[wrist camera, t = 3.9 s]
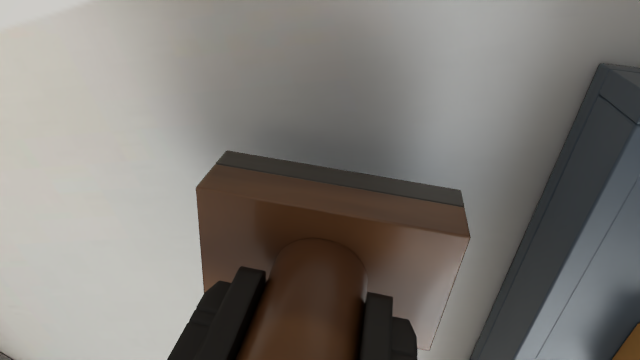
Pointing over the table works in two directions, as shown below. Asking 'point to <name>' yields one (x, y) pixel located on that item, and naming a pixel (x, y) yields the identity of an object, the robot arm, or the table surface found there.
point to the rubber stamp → (328, 251)
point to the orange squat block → (630, 346)
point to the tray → (579, 240)
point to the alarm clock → (3, 357)
